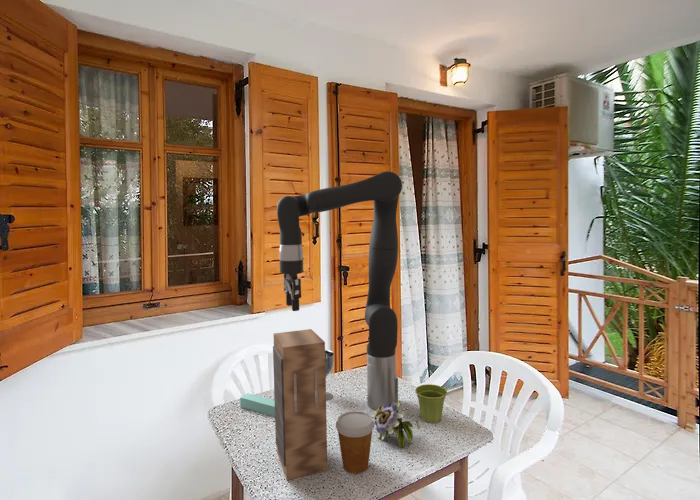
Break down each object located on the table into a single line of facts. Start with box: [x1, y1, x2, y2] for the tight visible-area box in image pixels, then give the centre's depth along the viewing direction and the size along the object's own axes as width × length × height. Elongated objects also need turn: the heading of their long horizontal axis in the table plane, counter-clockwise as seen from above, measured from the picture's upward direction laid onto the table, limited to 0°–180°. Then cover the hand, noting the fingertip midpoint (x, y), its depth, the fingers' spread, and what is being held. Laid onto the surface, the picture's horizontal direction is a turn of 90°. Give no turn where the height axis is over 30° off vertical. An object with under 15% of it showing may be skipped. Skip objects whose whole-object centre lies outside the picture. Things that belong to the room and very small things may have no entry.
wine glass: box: [325, 349, 335, 402], centre depth 138 cm, size 8×8×15 cm
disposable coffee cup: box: [335, 410, 375, 475], centre depth 99 cm, size 10×10×12 cm
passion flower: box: [373, 400, 421, 449], centre depth 112 cm, size 11×11×12 cm
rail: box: [239, 392, 275, 418], centre depth 127 cm, size 4×24×4 cm, turn 61°
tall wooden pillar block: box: [272, 328, 328, 481], centre depth 100 cm, size 10×12×32 cm
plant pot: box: [414, 383, 448, 424], centre depth 122 cm, size 9×9×9 cm
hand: (292, 307), depth 131 cm, fingers open, 8 cm apart
